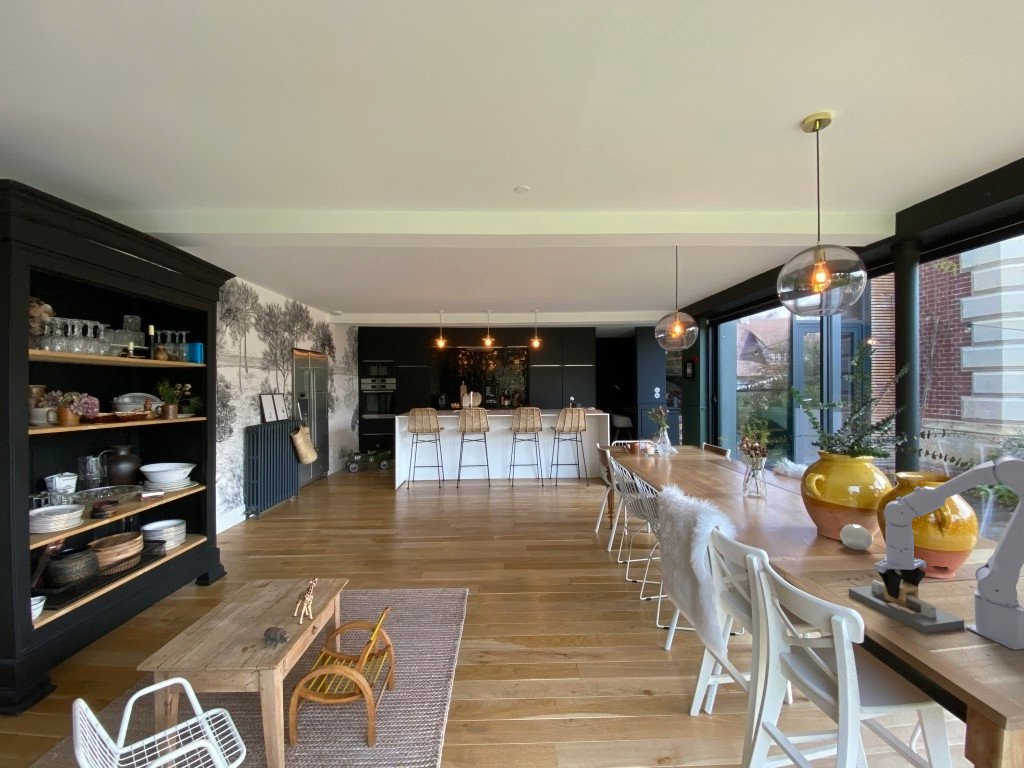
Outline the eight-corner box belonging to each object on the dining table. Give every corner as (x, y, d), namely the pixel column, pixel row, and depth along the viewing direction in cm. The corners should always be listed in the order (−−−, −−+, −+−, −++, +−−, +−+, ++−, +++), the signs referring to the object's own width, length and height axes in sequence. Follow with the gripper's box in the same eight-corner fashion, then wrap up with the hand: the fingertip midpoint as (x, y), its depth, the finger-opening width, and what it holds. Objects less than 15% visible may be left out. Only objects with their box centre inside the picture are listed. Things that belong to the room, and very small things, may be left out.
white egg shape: (857, 558, 154) (845, 548, 167) (883, 544, 151) (869, 536, 165) (837, 535, 157) (827, 527, 170) (862, 521, 154) (850, 514, 168)
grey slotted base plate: (964, 628, 107) (963, 607, 107) (924, 633, 105) (924, 613, 105) (883, 591, 126) (882, 574, 127) (848, 595, 125) (848, 577, 125)
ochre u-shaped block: (918, 605, 114) (918, 587, 114) (903, 607, 113) (903, 588, 113) (899, 596, 119) (898, 578, 119) (884, 598, 118) (883, 580, 118)
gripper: (906, 538, 121) (908, 586, 121) (862, 543, 119) (864, 591, 119) (934, 547, 114) (936, 598, 114) (888, 552, 112) (890, 604, 112)
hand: (901, 595), depth 116 cm, fingers closed on ochre u-shaped block, 5 cm apart
